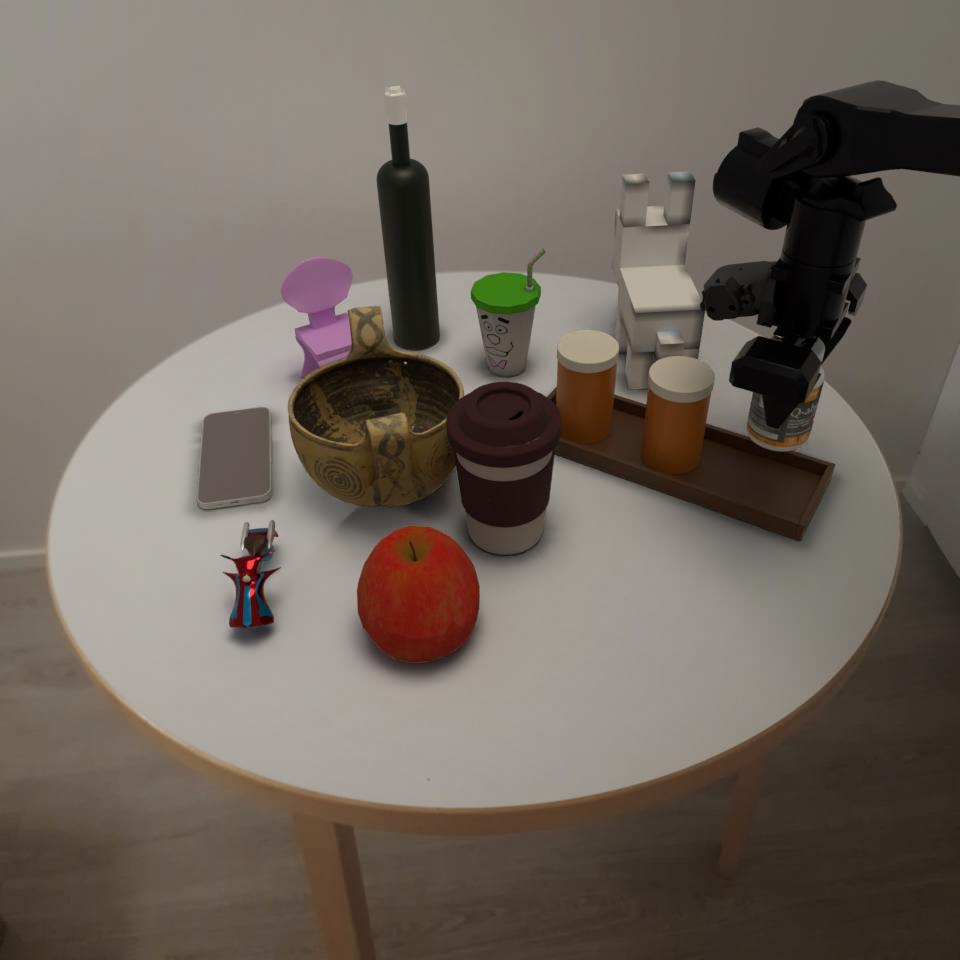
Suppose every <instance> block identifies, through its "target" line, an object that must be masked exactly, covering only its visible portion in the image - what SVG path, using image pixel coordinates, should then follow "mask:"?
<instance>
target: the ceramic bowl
mask: <svg viewBox="0 0 960 960" xmlns="http://www.w3.org/2000/svg"><path fill="white" fill-rule="evenodd" d="M346 313H347V314H348V316H349V322H350V331H351V342H352V344H351V350H350V352H349V353H348V355H347V356H346V357H344V358H341V359H338V360H336V361H333V362H330V363H328V364H325V365H323V366H321V367H319V368H318V369H316V370H314V371H313V372H311V373H310V374H308V375H307V376H305V377H302V378H301V379H300V381H299V382H298V383H297V384H296V385H295V387H294V388H293V389H292V391H291V393H290V395H289V397H288V401H287V414H288V426H289V432H290V433H289V434H290V438H291V442H292V445H293V447H294V450H295V453H296V455H297V457H298V460H299V461H300V463H301V465H302V466H303V469H304V470H305V472H306V473H307V475H308V476H309V477H310V479H312V480H313V481H314V483H315V484H316V485H317V486H319V488H321V489H322V490H323V491H324V492H325V493H327V494H328V495H330V496H331V497H333V498H335V499H337V500H339V501H342V502H344V503H347V504H350V505H354V506H357V507H363V508H370V509H388V508H389V509H390V508H396V507H401V506H406V505H410V504H412V503H414V502H415V503H416V502H417V501H420V500H422V499H424V498H426V497H427V496H430V495H431V494H433V493H434V492H435V491H436V490H438V489H439V488H440V487H441V486H443V485H444V483H445V482H446V481H447V480H448V479H449V478H450V476H451V475H452V473H453V472H454V470H456V464H455V458H454V449H453V448H452V447H451V445H450V443H449V440H448V437H447V428H446V419H447V415H448V412H449V410H450V409H451V407H452V406H453V405H454V404H455V403H456V402H457V401H458V400H459V399H460V398H462V397H463V396H465V387H464V385H463V383H462V380H461V379H460V377H459V375H458V374H457V373H456V372H455V371H454V369H453V368H451V366H449V365H448V364H446V363H445V362H444V361H441V360H439V359H437V358H435V357H433V356H430V355H426V354H423V353H419V352H413V351H403V350H400V349H396V348H394V347H393V345H391V344H390V343H389V341H388V339H387V335H386V330H385V326H384V318H383V317H384V316H383V311H382V306H381V305H372V306H358V307H357V306H356V307H353V308H349V309H348V310H347V312H346Z"/></svg>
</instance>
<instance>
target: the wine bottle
mask: <svg viewBox="0 0 960 960" xmlns="http://www.w3.org/2000/svg"><path fill="white" fill-rule="evenodd" d="M406 94H407V93H406V90H405V88H402V87H401V86H400V84H398V85H392V86H389V87H388V86H385V92H384V101H385V111H386V120H387V121H386V122H387V124H388V132H389V133H388V134H389V142H390V154H391V159H390V160H388V161H386V162H385V163H383V164H382V165H381V166H380V167H379V168H378V171H377V173H376V178H375V179H376V190H377V199H378V208H379V217H380V226H381V236H382V243H383V253H384V255H383V256H384V263H385V271H386V273H385V274H386V281H387V290H388V291H387V292H388V301H389V308H390V318H391V328H392V335H393V336H392V337H393V341H394V343H395V345H396V346H398V347H399V348H401V349H404V350H407V351H408V350H409V351H421V350H422V351H423V350H426V349H429V348H432V347H433V346H435V345H436V344H437V343H438V342H439V340H440V338H441V331H440V318H439V317H440V316H439V303H438V302H439V301H438V288H437V274H436V260H435V245H434V231H433V230H434V229H433V217H432V215H433V214H432V202H431V187H430V175H429V172H428V169H427V168H426V167H425V165H424V164H423V163H422V162H420V161H419V160H416V159H415V158H411V152H410V140H409V128H408V121H409V119H408V106H407V105H408V104H407V95H406Z"/></svg>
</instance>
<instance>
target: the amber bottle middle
mask: <svg viewBox="0 0 960 960" xmlns="http://www.w3.org/2000/svg"><path fill="white" fill-rule="evenodd" d="M715 380H716V373H715V371H714V370H713V368H712V367H711V366H710V365H709V364H708V363H706V362H705V361H703V360H700V359H699V358H698V359H695V358H691V357H686V356H671V357H666V358H662V359H660V360H656V361H655V362H653V365H652V366H651V367H650V370H649V377H648V385H649V387H648V389H647V397H646V404H647V405H646V414H645V423H644V431H643V440H642V449H641V456H642V459H643V461H644V462H645V464H646V465H647V466H649V467H650V468H652V469H654V470H657V471H659V472H662V473H665V474H683V473H687V472H689V471H691V470H693V469H694V468H696V467H697V465H698V464H699V462H700V458H701V452H702V446H703V440H704V434H705V428H706V423H707V422H708V421H707V420H708V416H709V415H708V414H709V409H710V402H711V397H712V393H713V390H714V387H715V386H714V385H715Z"/></svg>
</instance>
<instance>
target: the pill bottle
mask: <svg viewBox="0 0 960 960" xmlns="http://www.w3.org/2000/svg"><path fill="white" fill-rule="evenodd" d="M769 339H773V340H777V341H781V342H782V340H778V339H774V338H773V335H772V336H771V337H769ZM802 342H803V341H802ZM801 344H802V343H801ZM813 351H814V353H815V354H816V355H817V357H818V358H819V360H820V361H821V362H822V360H823V356H824V352H825V346H824V343H823V342H822V341H821V340H820V339H819V340H818V342H817V343H816V345H815V347H814V348H813ZM819 373H820V374H821V376H820V378H819V380H818V381H817V383H816V385H815V386H814V388H813V390H812V391H811V392H810V394H809V396H808V398H807V399H806V401H805V403H800V404H799V405H798V406H797V407H796V409H795V410H794V411H793V412H792V413H791V414H790V416H789V417H788V418H787V419H786V420H785V422H784V423H783V424H782V425H781V426H780V427H779V428H778V429H776V428H772V427H769V426H767V424H766V419H765V412H764V405H763V399H762V395H761V394H758V393H754V392H752V396H751V400H750V405H749V410H748V415H747V420H746V433H747V436H748V437H750V438H751V440H752V441H754V442H755V443H756V444H758V445H759V446H761V447H763V448H766V449H769V450H773V451H796V450H798V449H800V448H802V447H804V446H805V445H806V444H807V443H808V442H809V439H810V436H811V433H812V430H813V425H814V421H815V418H816V413H817V410H818V406H819V402H820V399H821V394H822V390H823V388H824V384H825V376H826V375H825V371H824V368H823V366H822V365H821V367H820V371H819Z"/></svg>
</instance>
